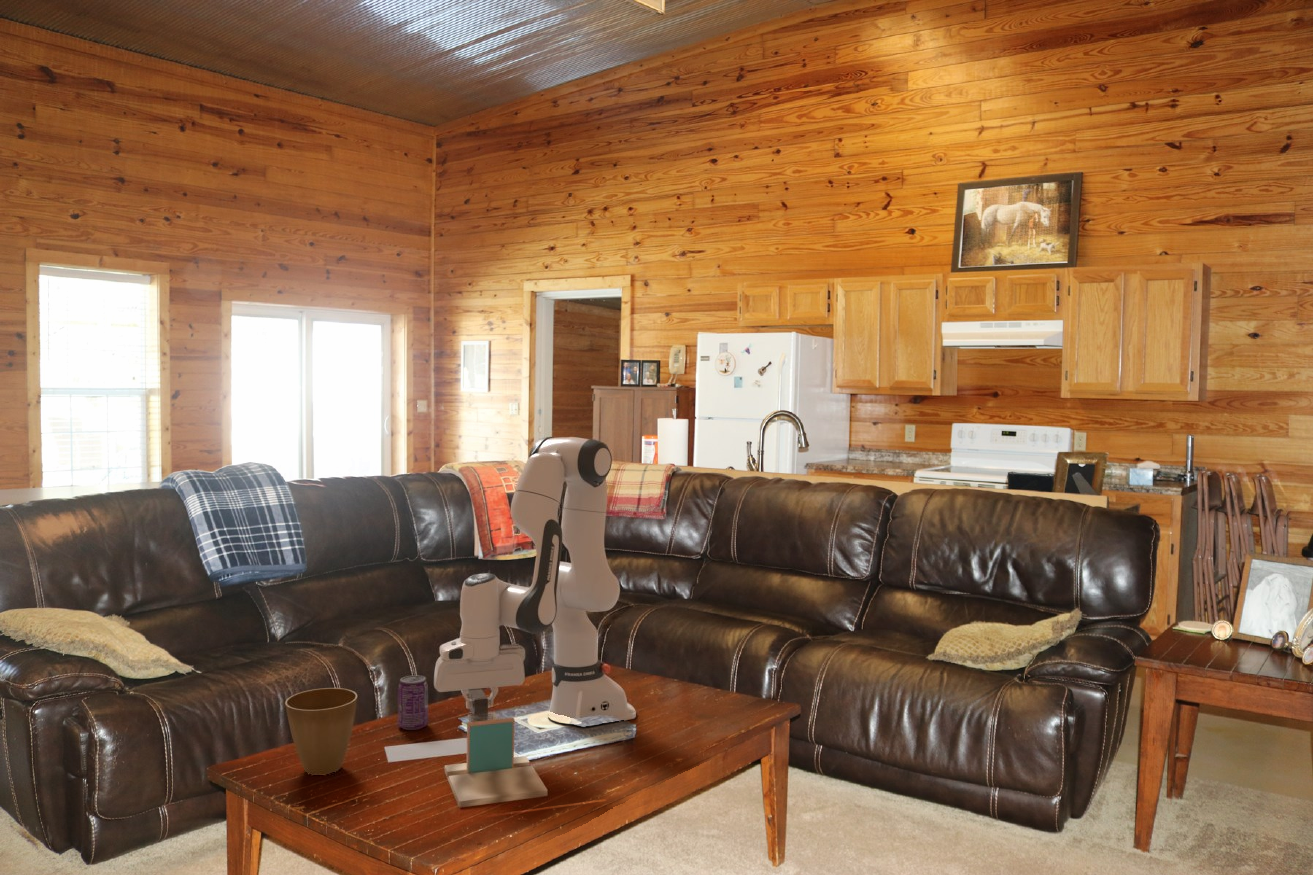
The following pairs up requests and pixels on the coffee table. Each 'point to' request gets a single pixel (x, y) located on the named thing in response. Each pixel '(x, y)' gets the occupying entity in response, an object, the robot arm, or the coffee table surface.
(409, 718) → the beverage can
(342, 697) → the plant pot
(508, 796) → the tile stand
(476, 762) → the tile
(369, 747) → the coffee table surface
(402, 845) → the coffee table surface
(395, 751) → the tool mat
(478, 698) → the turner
